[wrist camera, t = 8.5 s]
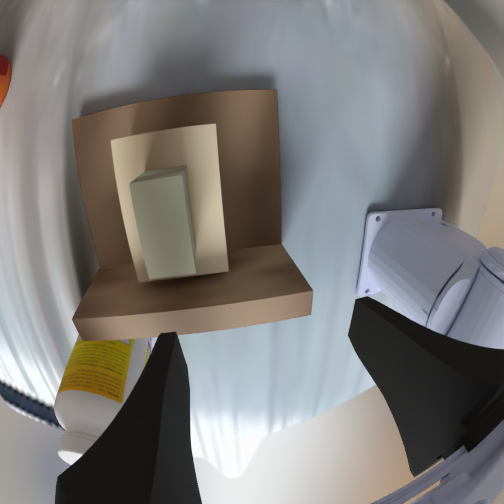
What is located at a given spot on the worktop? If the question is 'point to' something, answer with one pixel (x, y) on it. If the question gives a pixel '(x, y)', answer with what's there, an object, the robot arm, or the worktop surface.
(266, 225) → the cleat board
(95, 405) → the supplement bottle
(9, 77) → the coffee cup
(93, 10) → the worktop surface
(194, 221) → the saddle block
